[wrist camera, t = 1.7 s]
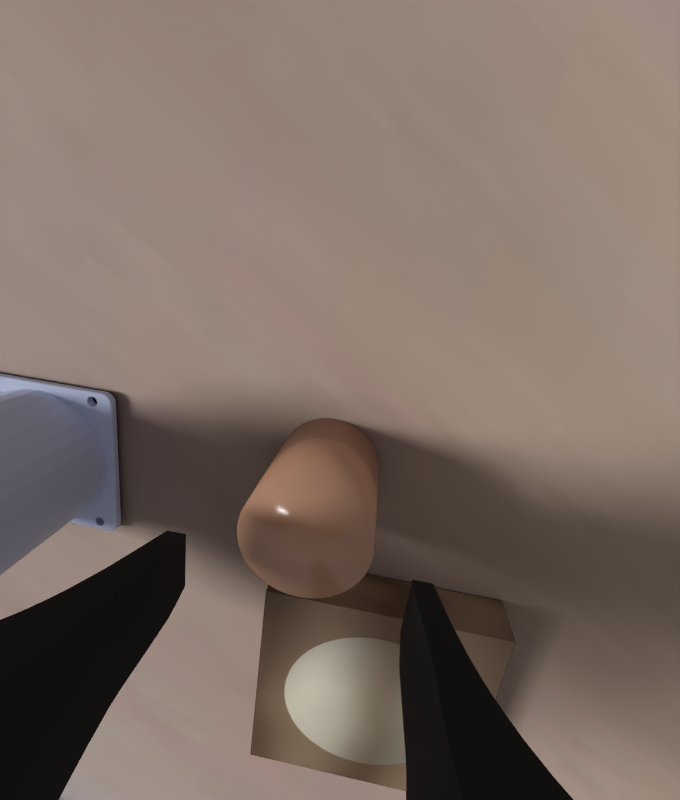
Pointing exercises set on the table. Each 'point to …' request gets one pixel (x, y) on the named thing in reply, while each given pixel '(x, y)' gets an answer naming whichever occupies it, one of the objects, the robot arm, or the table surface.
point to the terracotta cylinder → (314, 512)
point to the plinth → (354, 675)
